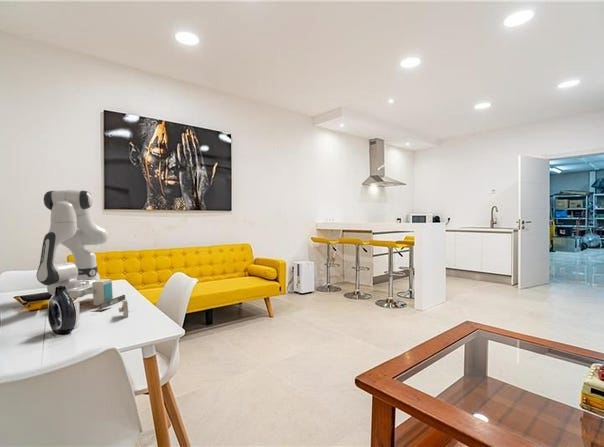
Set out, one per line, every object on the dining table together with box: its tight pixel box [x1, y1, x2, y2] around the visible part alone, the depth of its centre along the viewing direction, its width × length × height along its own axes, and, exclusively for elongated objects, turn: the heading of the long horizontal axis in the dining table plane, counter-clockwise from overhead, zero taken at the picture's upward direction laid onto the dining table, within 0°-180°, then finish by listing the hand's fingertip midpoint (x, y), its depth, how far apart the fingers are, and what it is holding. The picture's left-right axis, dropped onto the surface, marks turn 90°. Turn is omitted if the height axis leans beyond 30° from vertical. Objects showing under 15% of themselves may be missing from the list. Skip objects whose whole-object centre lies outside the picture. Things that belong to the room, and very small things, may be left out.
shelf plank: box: [78, 294, 126, 313], centre depth 163 cm, size 23×16×4 cm
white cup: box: [72, 301, 80, 330], centre depth 133 cm, size 8×8×10 cm
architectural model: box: [118, 298, 129, 319], centre depth 146 cm, size 3×7×7 cm, turn 33°
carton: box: [92, 278, 114, 305], centre depth 161 cm, size 6×6×12 cm
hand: (101, 289), depth 162 cm, fingers open, 8 cm apart
